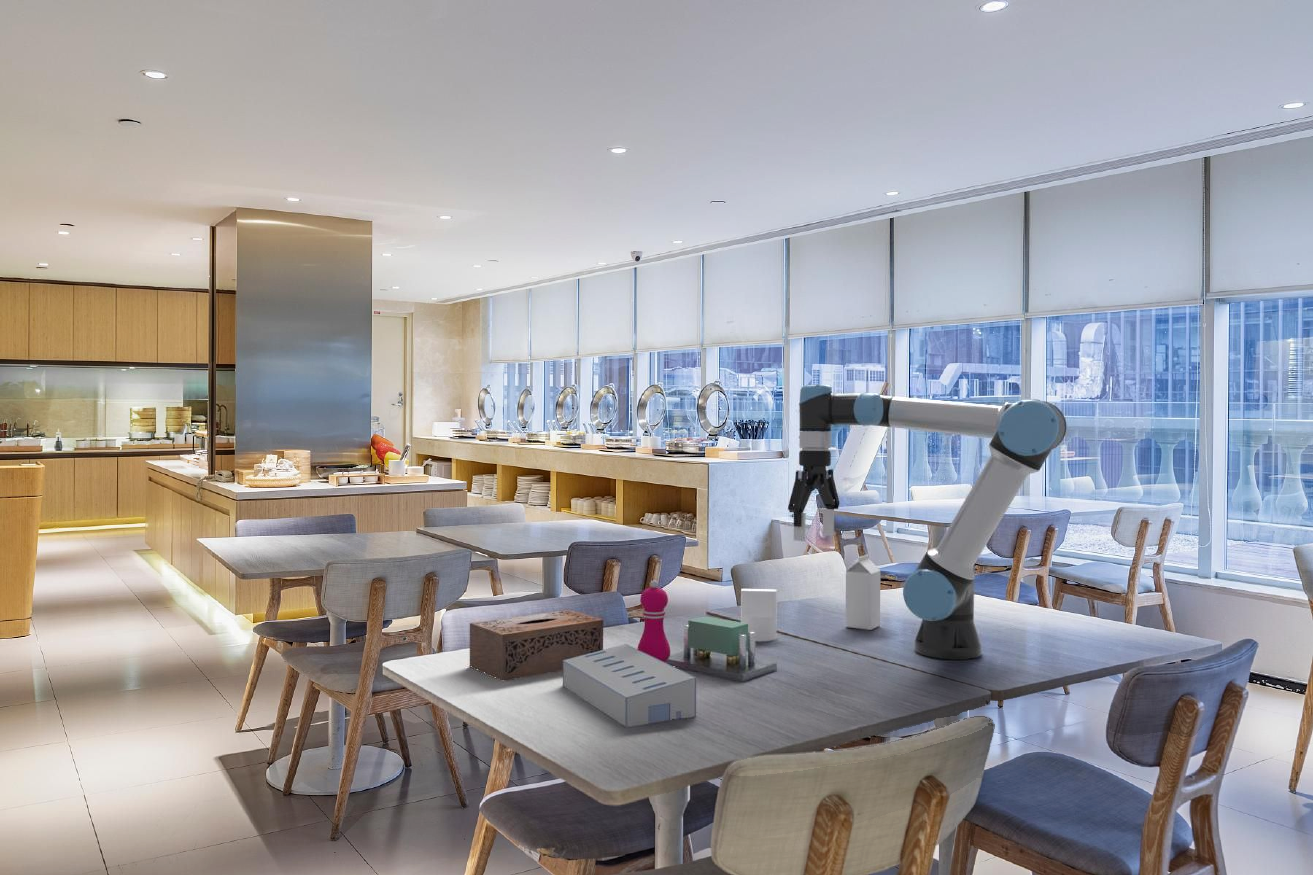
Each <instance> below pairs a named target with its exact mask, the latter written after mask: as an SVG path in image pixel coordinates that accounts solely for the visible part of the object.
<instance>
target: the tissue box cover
mask: <svg viewBox="0 0 1313 875" xmlns="http://www.w3.org/2000/svg"><path fill="white" fill-rule="evenodd" d="M601 650H604V619H602V618H598V617H596V616H591V615H588V614H585V613H581V612H576V611H574V610H571V609H564V610H556V611H548V612H540V613H535V614H526V615H519V616H512V617H506V618H505V617H504V618H497V619H491V620H490V619H489V620H481V621H476V622H469V667H470V666H472V667H473V668H475V669H478V670H479V671H478V672H480V671H481V672H480V673H482V672H485V673H486V674H485V675H487V674H488V675H487V676H489V675H491V676H493V677H492V678H494V677H496V678H498V679H500V680H499V681H501V680H506V681H510V680H515V678H517V679H521V678H520V677H522V678H527V677H532V675H533V676H537V675H543V674H548V672H550V673H554V672H559V670H561V671H563V660H566V659H570V658H574V657H578V656H582V655H586V654H589V653H593V652H597V651H601ZM473 668H472V669H473ZM475 669H474V670H475ZM491 676H490V677H491ZM496 678H495V679H496ZM498 679H497V680H498Z"/></svg>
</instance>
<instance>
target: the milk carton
mask: <svg viewBox="0 0 1313 875" xmlns="http://www.w3.org/2000/svg"><path fill="white" fill-rule="evenodd" d="M850 565H851V567H850V568H848V569H847V570H846V571H845V628H852V629H860V630H867V631H872V630H874V629H876V628H878V627H880V626H881V569H880V568H879V567H878V566H877V565H876V564H875V563H873V561H872V560H871V559H869V554H868V553H867V554H864V555H861V556H858V558H856V559H855V560H853V561H852V562H851V563H850Z"/></svg>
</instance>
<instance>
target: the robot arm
mask: <svg viewBox="0 0 1313 875" xmlns="http://www.w3.org/2000/svg"><path fill="white" fill-rule="evenodd" d="M798 406H799V407H798V408H799V436H798V439H799V443H798V444H799V445H798V446H799V448H800V449H801V450H799V453H798V455H799V456H798V465H799V466H801V467H803V470H798V469H797V470H796V471H795V478H794V484H793V488H792V491H791V493H790V498H789V502H788V506H787V509H788V511H789V513H793V541H797V542H805V541H806V521H807V520H806V519H807V517H806V515H807V514H806V512H804V511H805V509H806V507H807V505H808V501H809V500H810V497H811V494H812V492H813V491H815V489H816V490H817V492H818V494H819V496H820V499H821V500H822V503H823V505H824V508H822V536H827V537H834V536H835V510H838V509H839V508H840V507H839V506H840V498H839V495H838V491H837V486H836V483H835V479H834V469H833V468H827V467H830V466H831V464H832V462H831V461H832V456H831V455H832V452H831V451H830V450H829V449H831V448H832V426H838V425H839V426H864V427H866V426H875V427H885V428H896V429H904V430H914V431H923V432H933V433H938V434H939V433H940V434H941V433H942V434H948V435H949V434H950V435H958V436H959V435H960V436H967V437H975V438H976V437H977V438H983V439H984V438H986V439H991V441H990V442H989V444H988V448H989V451H990V457H989V458H988V460H987V461H986V463H985V465H984V467H983V469H982V470H981V472H980V474H979V476H978V477H977V479H976V480H975V482H974V483H973V486H972V487H971V489H970V491H969V493H968V494H967V496H966V498H965V499H964V501H963V503H962V505H961V506H960V507H959V510H958V511H957V513H956V515H955V517H954V518H953V520H952V522H951V524H950V525H949V526H948V528H947V530H946V532H945V533H944V535H943V537H942V539H941V540H940V542H939V544H938V545H937V547H934V548H930V549H927V551H926V552H925V554H924V556H923V557H922V559H921V560H920V563H919V564H918V566H917V568H916V569H915V571H913V572H912V573H910V575H908V577H907V578H906V579H905V581H904V585H903V588H902V596H903V599H904V603H905V606H906V607H907V608H908V610H909V611H910V612H911V613H912V614H913V616H914V615H915V617H916V618H918V619H921V621H920V625H919V628H918V631H917V632H916V633H917V634H916V636H915V640H914V651H915V653H917V654H920V655H922V656H926V657H930V658H936V659H943V660H944V659H945V660H971V659H970V658H973V659H977V658H979V657H980V656H981V655H982V644H981V640H980V638H979V635H978V632H977V628H976V625H975V621H974V620H975V619H974V618H975V614H974V612H975V609H974V608H975V577H976V576H975V574H976V569H975V564H976V563H977V560H978V559H979V557H980V556H981V554H982V552H983V551H984V549H985V547H986V545H987V544H988V542H989V541H990V539H991V537H992V536H993V534H994V533H995V531H996V529H997V527H998V526H999V524H1000V522H1001V521H1002V519H1003V517H1004V516H1005V514H1006V512H1007V511H1008V510H1009V507H1010V505H1012V502H1013V501H1014V499H1015V497H1016V495H1017V494H1018V492H1019V491H1020V489H1021V487H1022V485H1023V484H1024V482H1025V480H1026V479H1027V477H1028V476H1029V475H1031V474H1035V473H1038V472H1040V470H1041V468H1042V466H1043V465H1044V463H1045V462H1046V460H1047V458H1048V457H1049V455H1050V454H1051V452H1052V451H1053V450H1054V449H1056V448H1057V447H1058V446H1060V444H1061V443H1062V442H1063V440H1064V438H1065V437H1066V434H1067V429H1068V428H1067V421H1066V417H1065V415H1064V413H1063V412H1062V410H1061V409H1060V408H1059V407H1057V406H1056V405H1055V404H1053V403H1051V402H1048V401H1045V400H1040V399H1037V398H1025V399H1021V400H1018V401H1016V402H1005V403H1003V405H1002V406H1001V405H993V404H991V405H989V404H978V403H969V402H958V401H956V402H955V401H945V400H936V399H935V400H934V399H924V398H915V397H914V398H911V397H901V396H892V395H882V394H879V393H874V392H871V393H870V392H850V393H849V392H847V393H843V392H842V393H837V392H836V393H835V392H833V391H832V386H831V385H829V384H828V385H827V384H818V385H817V384H809V385H807V384H806V385H803V386H802V387H801V388H800V391H799V403H798Z"/></svg>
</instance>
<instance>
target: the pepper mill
mask: <svg viewBox="0 0 1313 875" xmlns="http://www.w3.org/2000/svg"><path fill="white" fill-rule="evenodd" d="M649 585H650V587H647V588H646V589H644V590H643V591H642V592H641V595H640V600H639V602H640V604H641V606H642V607H643V610H642V617H643V618H644V628H643V633H642V634H641V638H640V640H639V642H638V645H637V648H636V649H637V650H640V651H642V652H644V653H646V654H648V655H650V656H652V657H654V658H656V659H658V660H660V661H663V662H666V661H667V659H668V658H669V657H670V655H671V647H670V643H669V641H668V639H667V636H666V632H665V628H664V618H665V617H666V612H667V611H666V610H665V608H666V607H667V606H668V603H669V597H668V594H667V592H666V591H665V590H664V589H663V588H660V587H658V586H659V582H658V581H657V580H656V579H655V580H651V581H650V583H649Z"/></svg>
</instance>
